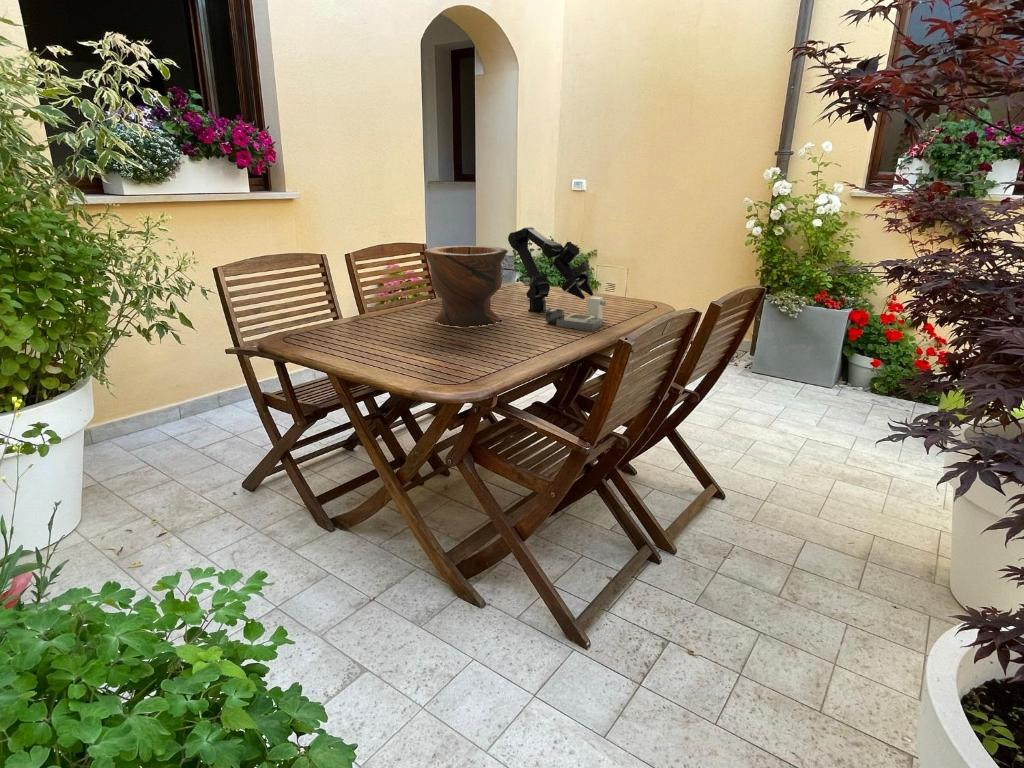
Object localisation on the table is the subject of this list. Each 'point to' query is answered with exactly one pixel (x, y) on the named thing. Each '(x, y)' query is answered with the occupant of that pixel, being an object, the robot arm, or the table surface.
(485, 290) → the wooden planter
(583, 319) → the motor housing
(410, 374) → the table surface
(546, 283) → the robot arm
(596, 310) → the cream block
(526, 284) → the mechanical component
